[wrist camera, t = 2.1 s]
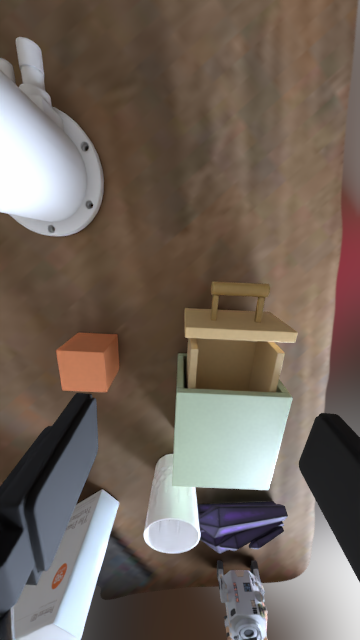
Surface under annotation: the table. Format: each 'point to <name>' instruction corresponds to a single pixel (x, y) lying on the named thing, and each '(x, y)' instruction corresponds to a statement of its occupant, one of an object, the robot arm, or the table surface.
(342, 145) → the table surface
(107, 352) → the plain salmon cube
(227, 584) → the figurine
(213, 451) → the cabinet
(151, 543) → the white cup
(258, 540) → the crystal
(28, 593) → the skincare box
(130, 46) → the table surface
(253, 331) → the drawer
